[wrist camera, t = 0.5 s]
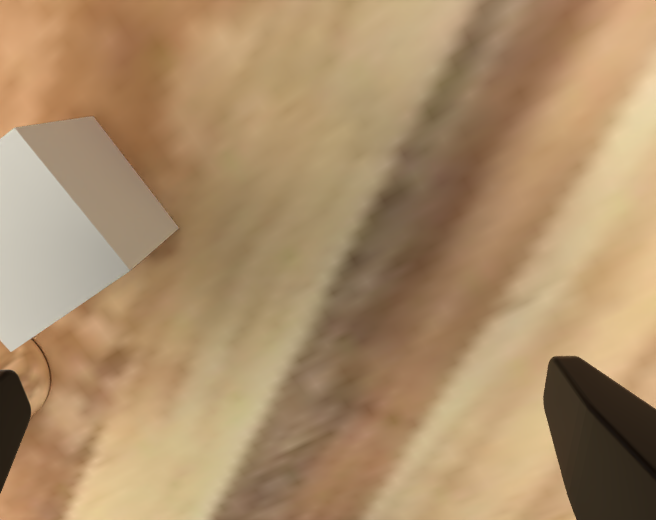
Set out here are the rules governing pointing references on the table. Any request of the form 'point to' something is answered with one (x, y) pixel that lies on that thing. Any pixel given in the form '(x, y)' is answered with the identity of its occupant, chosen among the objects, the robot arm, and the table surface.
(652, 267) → the table surface
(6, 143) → the letter block
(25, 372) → the beer glass
